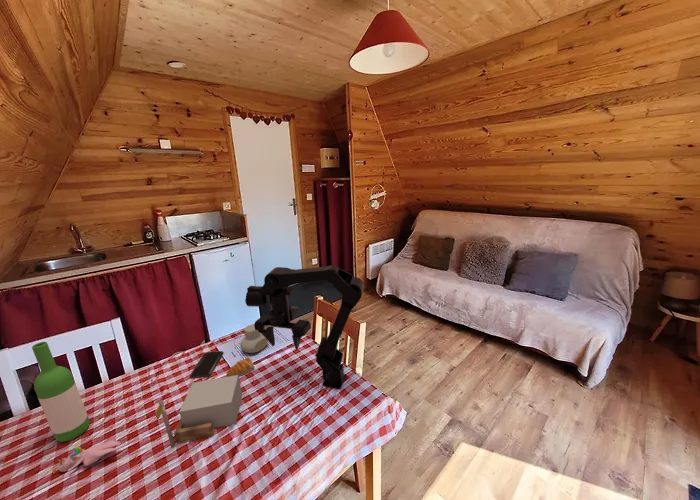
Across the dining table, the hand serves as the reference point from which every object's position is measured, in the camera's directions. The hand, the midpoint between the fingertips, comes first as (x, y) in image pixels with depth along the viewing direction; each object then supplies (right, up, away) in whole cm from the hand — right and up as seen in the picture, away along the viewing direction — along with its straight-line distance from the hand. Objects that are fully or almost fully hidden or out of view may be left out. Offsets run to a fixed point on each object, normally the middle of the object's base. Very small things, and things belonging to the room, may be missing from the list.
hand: (285, 347), depth 101 cm
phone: (-34, -12, +14) cm, 38 cm away
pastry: (-18, -12, +10) cm, 24 cm away
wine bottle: (-60, -21, -13) cm, 65 cm away
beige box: (-20, -18, -9) cm, 28 cm away
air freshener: (-18, -8, +23) cm, 30 cm away
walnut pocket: (-23, -18, -12) cm, 32 cm away
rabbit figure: (-47, -23, -23) cm, 57 cm away
